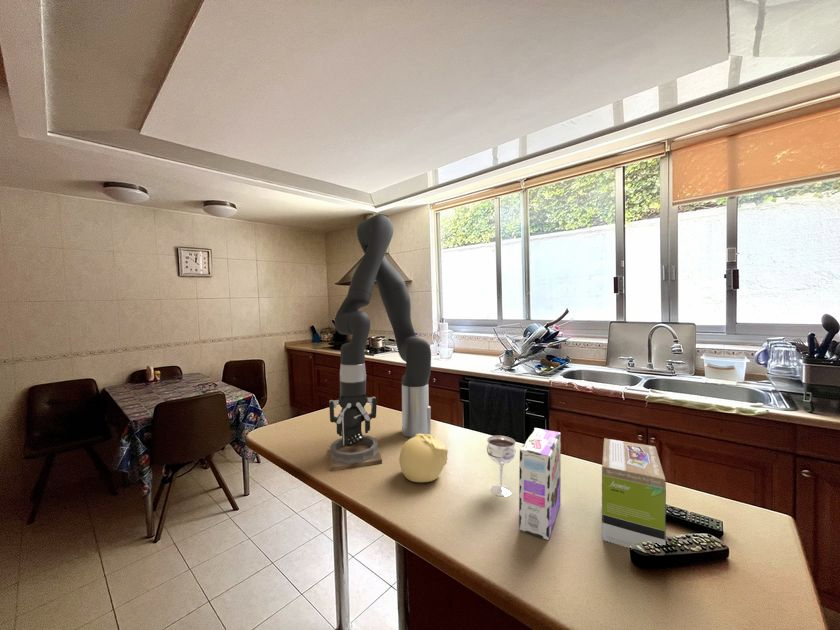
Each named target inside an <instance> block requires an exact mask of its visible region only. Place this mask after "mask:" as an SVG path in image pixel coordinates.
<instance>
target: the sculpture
mask: <svg viewBox="0 0 840 630" xmlns="http://www.w3.org/2000/svg"><path fill="white" fill-rule="evenodd" d="M448 453H449V451H448V448H447V447H446V445H444V443H442V442H441V441H440V440H439V439H438V438H437V437H435V436H434V435H433V434H432V433H431V434H416V435H415V437H413V438H411V437H410V438H409V439H407V441H405V443H403V445H402V447H401V449H400V453H399V458H398V459H399V466H400V469H401V472H402V474H403V476H404V477H405V478H406V479H407V480H409V481H411V482H415V483H429V482H433V481H435V480H437V478H438V477H440V475H441V473H442V471H443V469H444V467H445V466H446V465H447V463H448V462H447V461H448Z"/></svg>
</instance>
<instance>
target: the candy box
mask: <svg viewBox="0 0 840 630" xmlns="http://www.w3.org/2000/svg"><path fill="white" fill-rule="evenodd" d="M533 429H534V430H533V431H532V433H531V434H530V435H529V436H528V438H527V439H526V441H525V443H524V444H523V445H522V446H521V448H520V449H519V468H518V469H519V475H518V476H519V479H518V480H519V482H518V483H519V487H518V488H519V489H518V490H519V493H518V494H519V497H518V498H519V500H518V501H519V502H518V503H519V504H518V508H519V509H518V517H519V518H518V523H519V524H518V530H519V531H522V532H524V533H527V534H530V535H532V536H536V537H538V538H541V539H544V540H546V541H549V540H550V538H551V536H552V531H553V528H554V526H555V522H556V519H557V515H558V512H559V510H560V505H561V488H562V487H561V479H562V478H561V469H562V468H561V464H562V463H561V462H562V461H561V440H562V437H561V435H562V434H561V432H559V431H556V430H555V431H554V430H548V429H544V428H538V427H534V428H533Z"/></svg>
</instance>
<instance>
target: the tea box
mask: <svg viewBox="0 0 840 630" xmlns="http://www.w3.org/2000/svg"><path fill="white" fill-rule="evenodd" d="M602 446H603V447H602V448H603V449H602V450H603V451H602V464H601V536H602V537H601V538H602V541H604V542H607V541H608V542H607V543H610V542H611V544H613V543H614V544H613V545H616V544H618V545H617V546H619V545H620V547H623V546H624V547H623V548H626V547H628V548H627V549H629V548H630V546H631V545H632V544H635V543H640V542H647V541H652V542H654V543H657V544H661V545H666V544H667V543H666V542H667V541H666V540H667V539H666V535H667V534H666V530H667V528H666V527H667V525H666V524H667V519H666V517H667V515H666V513H667V512H666V511H667V510H666V508H667V507H666V506H667V486H666V485H667V484H666V477H665V473H664V471H663V467H662V463H661V460H660V457H659V454H658V450H657V447H656V446H654V445H650V444H643V443H635V442H629V441H622V440H618V439H610V438H606V437H604V438H603V445H602ZM666 546H667V545H666Z"/></svg>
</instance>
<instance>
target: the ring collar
mask: <svg viewBox="0 0 840 630" xmlns="http://www.w3.org/2000/svg"><path fill="white" fill-rule="evenodd" d="M362 435H363V434H362ZM329 461H330V471H340V470H345V469H352V468H353V469H354V468H359V467H366V466H373V465H379V464H383V458H382V456H381V453H380V451H379V444H378V441H377V439H376V438H374V437H373V436H371V435H366V434H365V435H363V440H362V441H361V442H359V443H357V444H355V445H353V446H343V445H342V437H341V438H338V439H336V440H334V442H332V443H331V444H330V445H329Z"/></svg>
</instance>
